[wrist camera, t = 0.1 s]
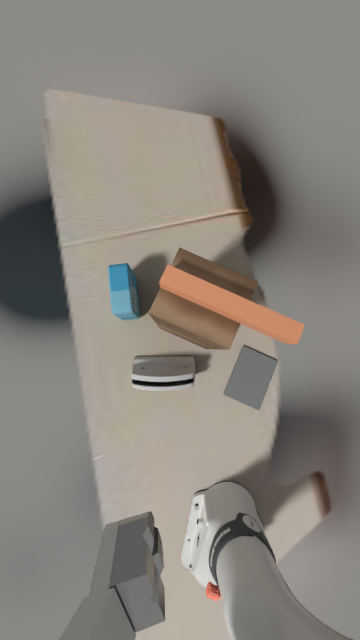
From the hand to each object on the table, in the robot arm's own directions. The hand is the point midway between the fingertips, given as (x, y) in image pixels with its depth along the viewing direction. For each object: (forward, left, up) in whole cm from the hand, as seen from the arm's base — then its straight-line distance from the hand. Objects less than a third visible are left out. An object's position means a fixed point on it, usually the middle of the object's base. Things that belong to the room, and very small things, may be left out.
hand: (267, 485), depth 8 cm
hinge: (-4, +5, -52) cm, 53 cm away
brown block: (+12, +4, -52) cm, 54 cm away
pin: (+12, 0, -26) cm, 29 cm away
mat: (+4, -17, -52) cm, 55 cm away
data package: (+10, +22, -52) cm, 58 cm away
